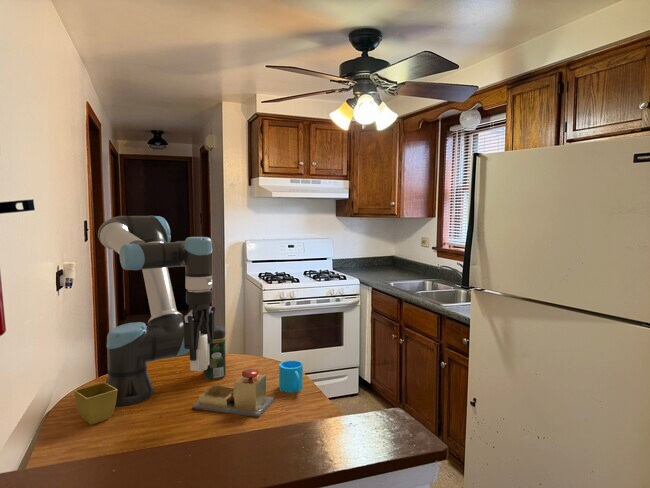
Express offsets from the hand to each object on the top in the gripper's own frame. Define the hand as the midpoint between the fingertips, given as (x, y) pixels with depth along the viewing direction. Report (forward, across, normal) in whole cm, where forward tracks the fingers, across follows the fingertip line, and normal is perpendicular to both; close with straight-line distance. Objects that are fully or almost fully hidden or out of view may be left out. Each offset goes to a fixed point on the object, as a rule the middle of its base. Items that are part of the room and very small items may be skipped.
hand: (200, 367), depth 130 cm
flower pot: (+15, -12, +27) cm, 33 cm away
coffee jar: (+15, +28, +13) cm, 35 cm away
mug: (+15, +26, -19) cm, 36 cm away
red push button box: (+15, +10, -6) cm, 18 cm away
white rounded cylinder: (0, 0, 0) cm, 0 cm away
